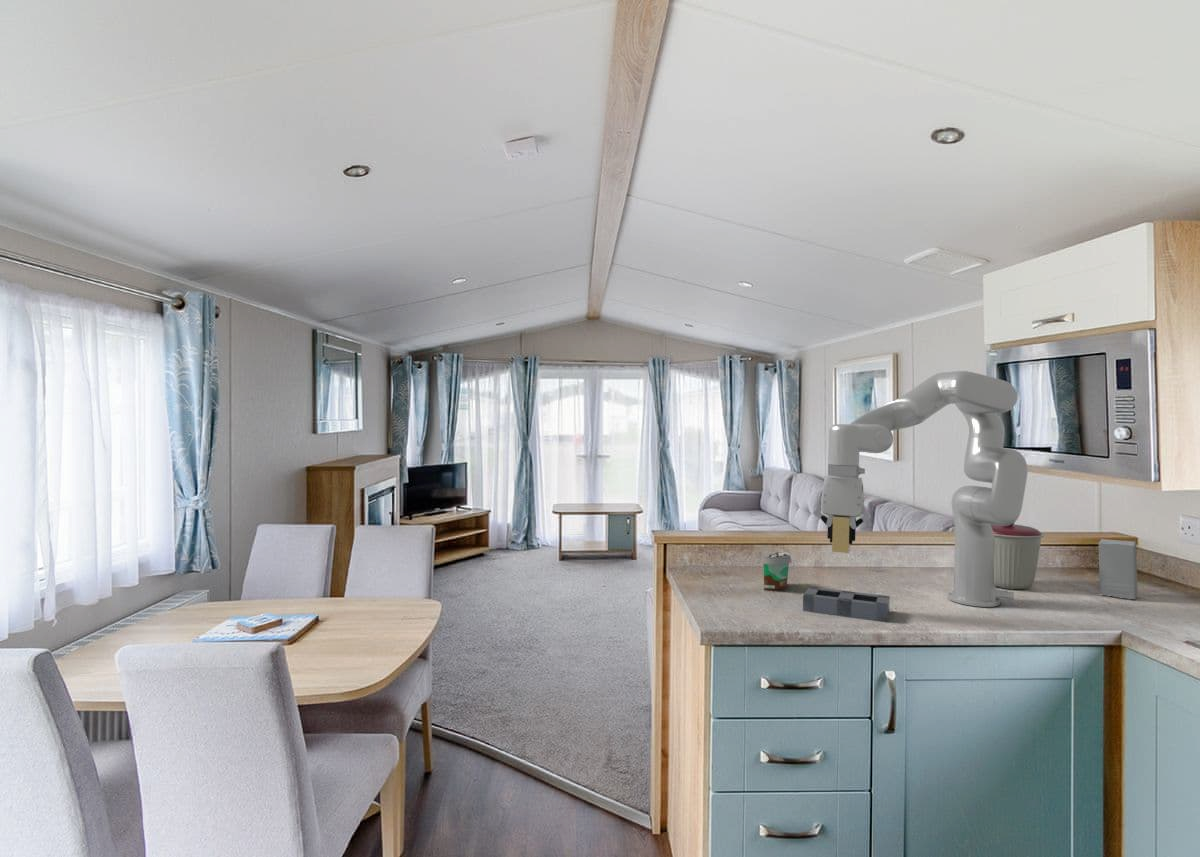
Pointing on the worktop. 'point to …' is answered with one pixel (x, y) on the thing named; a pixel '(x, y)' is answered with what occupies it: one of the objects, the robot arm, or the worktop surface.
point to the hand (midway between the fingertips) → (841, 541)
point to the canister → (1015, 555)
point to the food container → (776, 571)
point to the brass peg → (841, 534)
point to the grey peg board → (847, 603)
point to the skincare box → (1118, 568)
